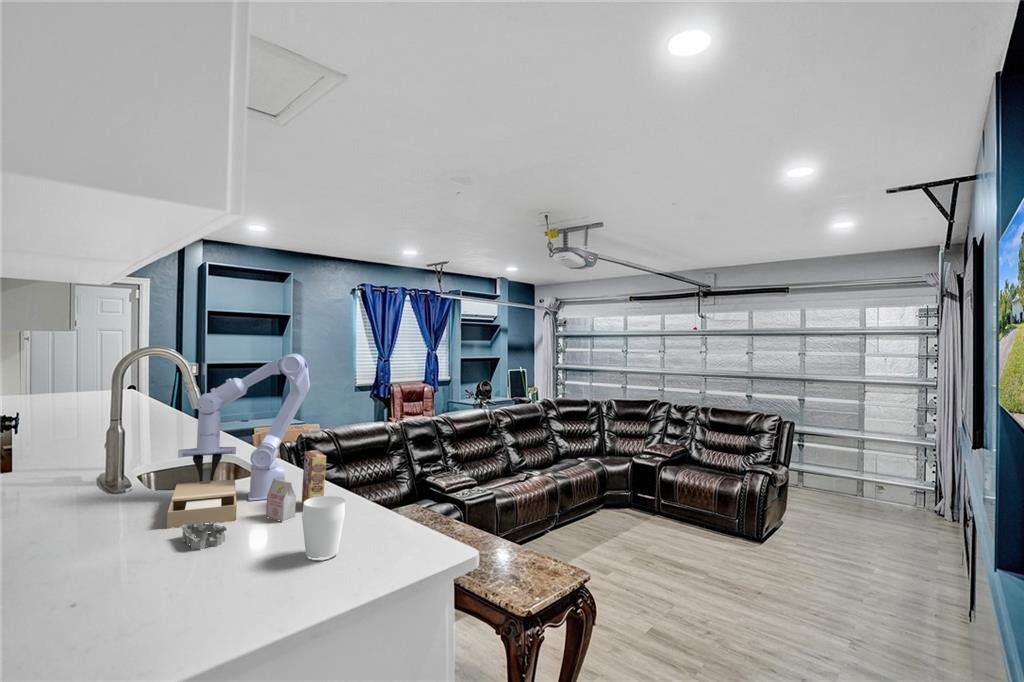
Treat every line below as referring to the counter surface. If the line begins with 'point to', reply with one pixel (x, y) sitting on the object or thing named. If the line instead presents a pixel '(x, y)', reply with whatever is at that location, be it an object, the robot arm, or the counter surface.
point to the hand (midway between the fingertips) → (206, 480)
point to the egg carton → (203, 535)
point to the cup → (322, 525)
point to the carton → (201, 511)
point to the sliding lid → (204, 488)
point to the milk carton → (281, 501)
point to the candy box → (313, 475)
